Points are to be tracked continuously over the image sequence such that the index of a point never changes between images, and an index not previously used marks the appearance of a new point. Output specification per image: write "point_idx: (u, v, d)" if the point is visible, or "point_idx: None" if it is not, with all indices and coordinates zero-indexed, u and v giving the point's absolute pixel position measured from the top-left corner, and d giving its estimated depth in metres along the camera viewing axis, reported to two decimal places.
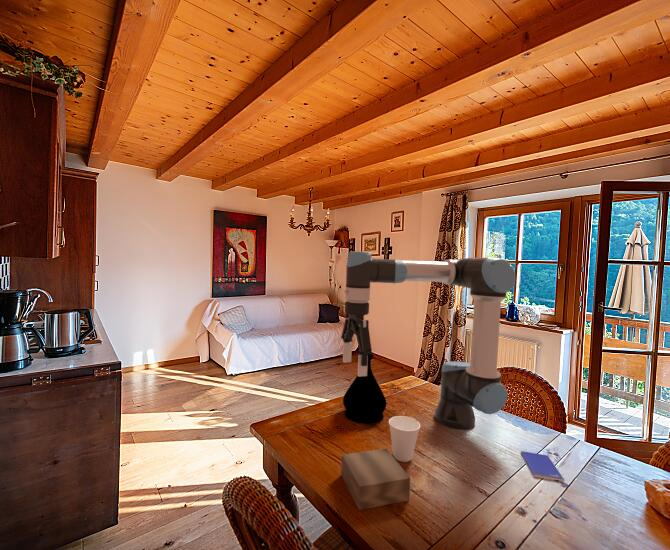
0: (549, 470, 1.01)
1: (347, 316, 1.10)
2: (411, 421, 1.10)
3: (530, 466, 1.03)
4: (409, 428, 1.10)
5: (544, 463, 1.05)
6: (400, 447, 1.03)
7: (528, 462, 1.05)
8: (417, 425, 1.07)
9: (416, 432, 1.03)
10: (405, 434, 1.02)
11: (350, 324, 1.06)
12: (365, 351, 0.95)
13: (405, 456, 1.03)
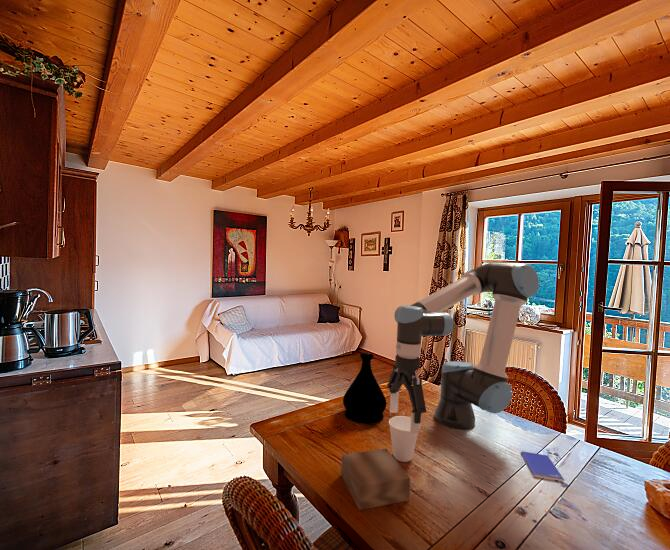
0: (549, 470, 1.01)
1: (395, 367, 1.11)
2: None
3: (530, 466, 1.03)
4: (409, 428, 1.10)
5: (544, 463, 1.05)
6: (400, 447, 1.03)
7: (528, 462, 1.05)
8: None
9: None
10: (405, 434, 1.02)
11: (400, 377, 1.07)
12: (420, 410, 0.96)
13: (405, 456, 1.03)
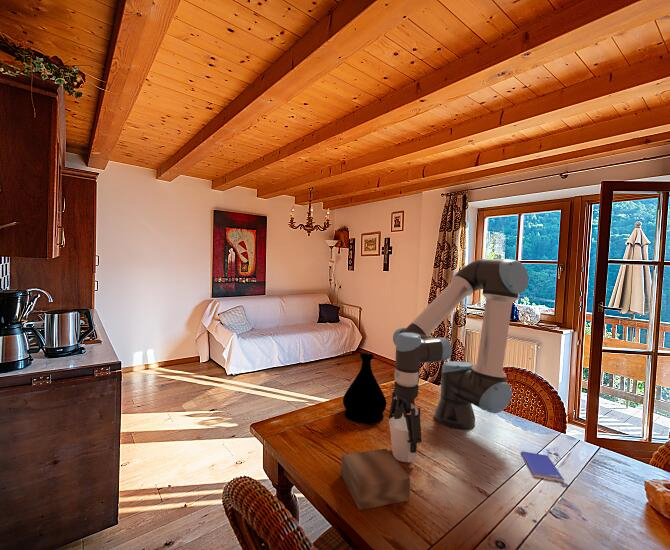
0: (549, 470, 1.01)
1: (394, 395, 1.11)
2: None
3: (530, 466, 1.03)
4: None
5: (544, 463, 1.05)
6: (400, 447, 1.03)
7: (528, 462, 1.05)
8: None
9: None
10: (405, 434, 1.02)
11: (399, 404, 1.07)
12: (415, 440, 0.98)
13: (405, 456, 1.03)
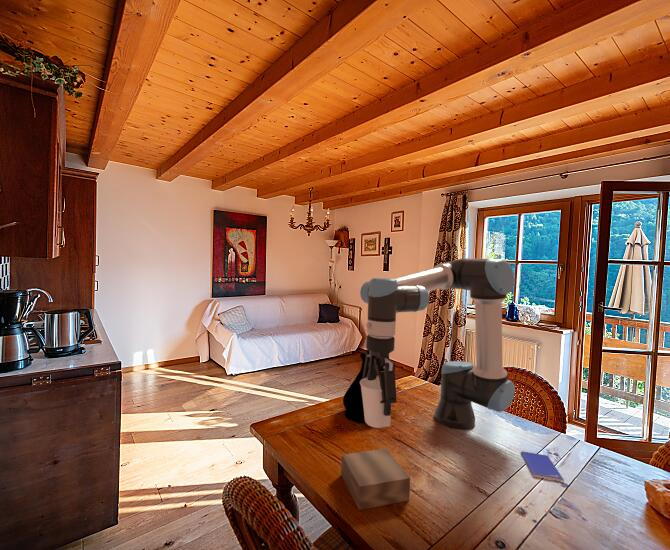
0: (549, 470, 1.01)
1: (368, 353, 0.95)
2: None
3: (530, 466, 1.03)
4: None
5: (544, 463, 1.05)
6: (372, 410, 0.88)
7: (528, 462, 1.05)
8: None
9: None
10: (378, 394, 0.86)
11: (372, 362, 0.91)
12: (389, 400, 0.83)
13: (378, 421, 0.88)
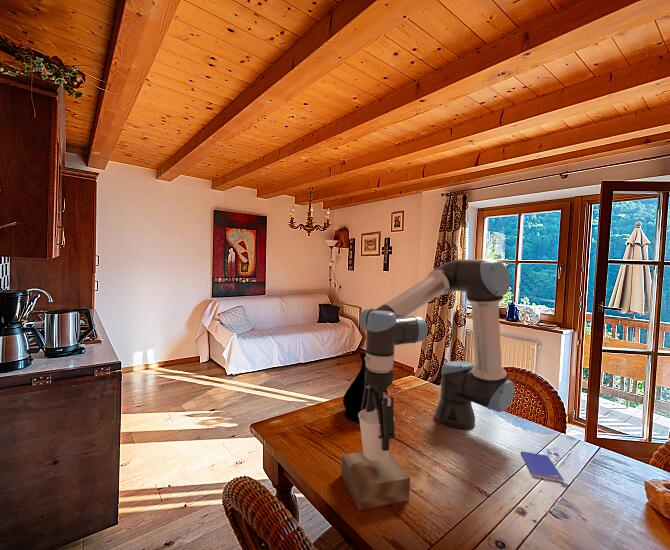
0: (549, 470, 1.01)
1: (366, 384, 0.96)
2: None
3: (529, 466, 1.03)
4: None
5: (544, 463, 1.05)
6: (370, 444, 0.88)
7: (528, 462, 1.05)
8: None
9: None
10: (376, 428, 0.86)
11: (371, 394, 0.91)
12: (387, 436, 0.83)
13: (377, 455, 0.88)
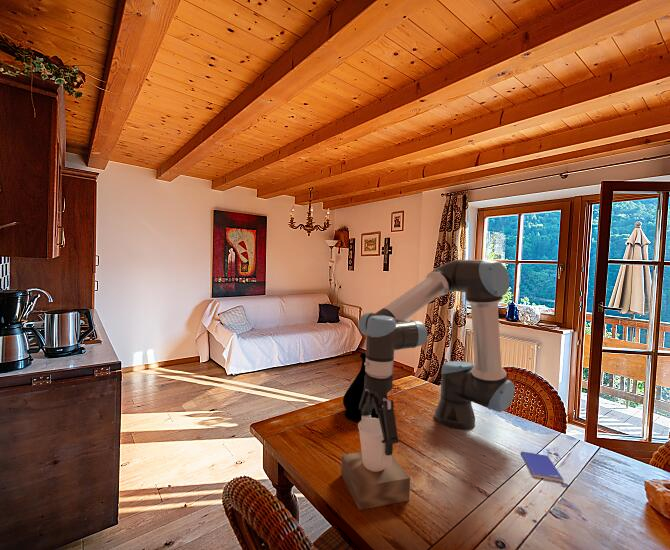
0: (549, 470, 1.01)
1: None
2: None
3: (529, 466, 1.03)
4: None
5: (544, 463, 1.05)
6: (370, 454, 0.88)
7: (528, 462, 1.05)
8: None
9: None
10: (376, 439, 0.87)
11: (370, 399, 0.92)
12: (391, 440, 0.81)
13: (376, 465, 0.88)
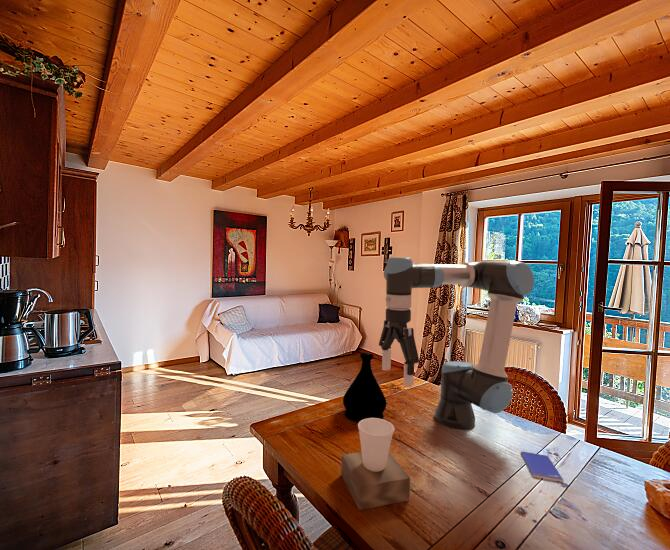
0: (549, 470, 1.01)
1: (386, 323, 1.07)
2: (385, 424, 0.95)
3: (529, 466, 1.03)
4: (382, 432, 0.95)
5: (544, 463, 1.05)
6: (370, 454, 0.88)
7: (527, 462, 1.05)
8: (391, 429, 0.92)
9: (389, 437, 0.88)
10: (376, 439, 0.87)
11: (391, 332, 1.03)
12: (413, 360, 0.93)
13: (376, 465, 0.88)
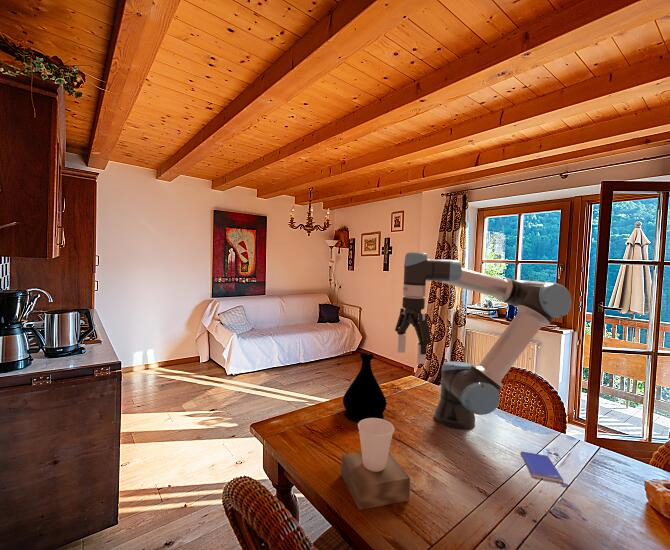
0: (548, 470, 1.01)
1: (402, 311, 1.22)
2: (385, 424, 0.95)
3: (529, 466, 1.03)
4: (382, 432, 0.95)
5: (544, 463, 1.05)
6: (370, 454, 0.88)
7: (527, 462, 1.05)
8: (391, 429, 0.92)
9: (389, 437, 0.88)
10: (376, 439, 0.87)
11: (407, 318, 1.18)
12: (426, 341, 1.07)
13: (376, 465, 0.88)
